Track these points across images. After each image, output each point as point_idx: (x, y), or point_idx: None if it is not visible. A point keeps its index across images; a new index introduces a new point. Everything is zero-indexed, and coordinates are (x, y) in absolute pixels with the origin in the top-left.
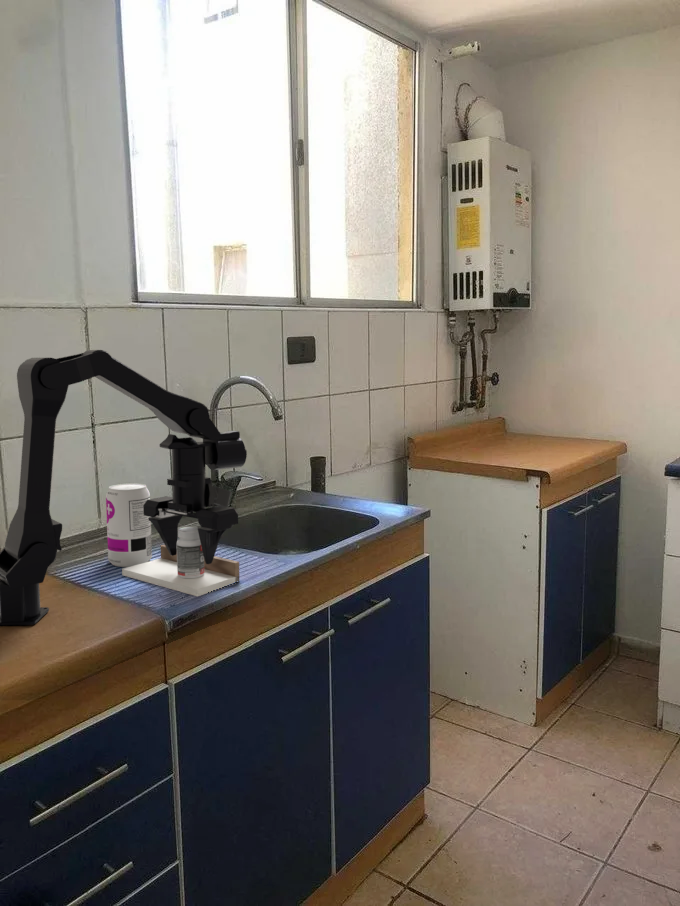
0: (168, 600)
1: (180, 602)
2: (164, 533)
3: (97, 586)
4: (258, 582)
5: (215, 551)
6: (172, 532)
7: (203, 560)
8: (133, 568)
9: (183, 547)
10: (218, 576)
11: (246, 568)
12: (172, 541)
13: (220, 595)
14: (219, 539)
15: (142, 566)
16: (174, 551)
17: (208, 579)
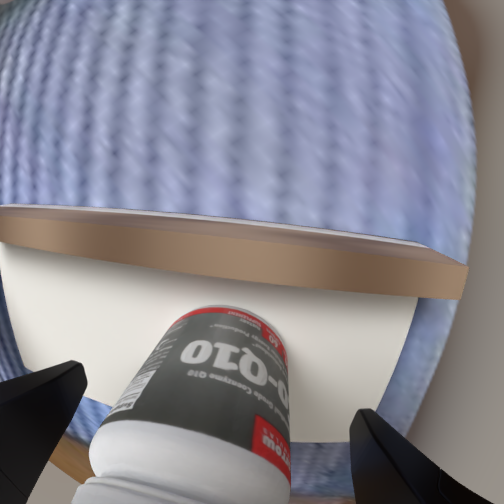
0: (296, 465)
1: (335, 460)
2: (31, 479)
3: (79, 432)
4: (470, 205)
5: (413, 447)
6: (9, 444)
7: (283, 385)
8: (32, 356)
9: None
10: (354, 312)
11: (311, 49)
12: (44, 421)
13: (414, 385)
14: (467, 494)
15: (27, 331)
16: (75, 382)
17: (337, 365)
